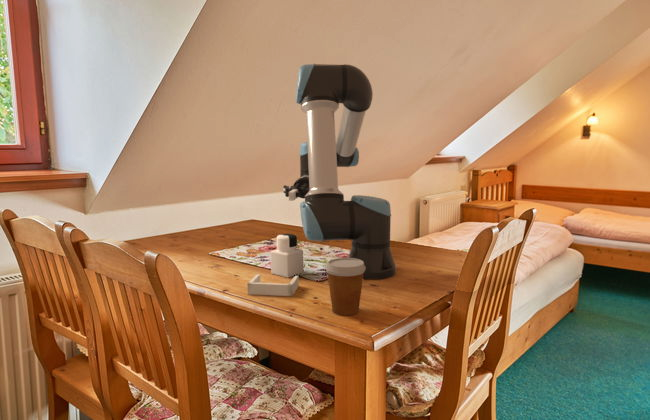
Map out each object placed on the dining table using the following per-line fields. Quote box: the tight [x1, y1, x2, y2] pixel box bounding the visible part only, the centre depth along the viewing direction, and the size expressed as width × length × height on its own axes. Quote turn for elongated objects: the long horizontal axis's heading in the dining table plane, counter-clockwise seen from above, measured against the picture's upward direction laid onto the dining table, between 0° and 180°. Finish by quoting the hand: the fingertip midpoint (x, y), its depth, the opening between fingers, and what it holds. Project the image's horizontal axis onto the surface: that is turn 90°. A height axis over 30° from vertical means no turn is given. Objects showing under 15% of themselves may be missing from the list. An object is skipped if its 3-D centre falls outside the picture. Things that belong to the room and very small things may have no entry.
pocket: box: [246, 273, 300, 297], centre depth 132 cm, size 12×8×3 cm
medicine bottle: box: [270, 233, 304, 278], centre depth 147 cm, size 7×7×12 cm
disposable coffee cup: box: [324, 257, 366, 316], centre depth 115 cm, size 10×10×12 cm
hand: (291, 196), depth 153 cm, fingers closed
